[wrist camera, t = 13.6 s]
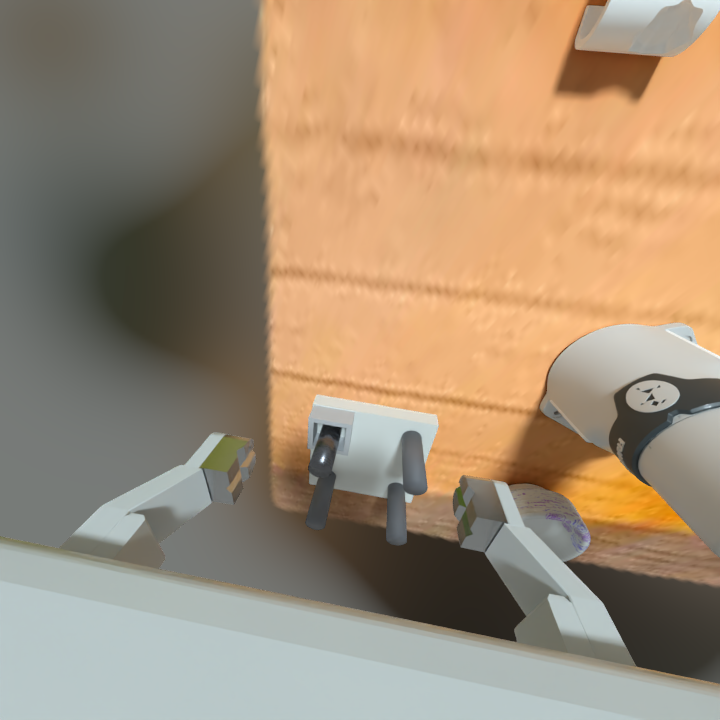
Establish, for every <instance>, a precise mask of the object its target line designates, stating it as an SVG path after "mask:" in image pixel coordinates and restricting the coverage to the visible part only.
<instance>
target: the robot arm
mask: <svg viewBox="0 0 720 720" xmlns="http://www.w3.org/2000/svg"><path fill="white" fill-rule="evenodd" d="M540 410H541V411H542V412H543V413H544V414H545V415H546V416H548V417H550V418H551V419H553V420H555V421H556V422H558V423H560V424H562V425H563V426H565V427H567V428H569V429H570V430H572V431H574V432H576V433H577V434H579V435H580V436H581V437H582V438H583V439H584V440H585V441H586V442H588V443H593V444H595V445H596V446H598V447H600V448H602V449H604V450H606V451H608V452H610V453H612V454H614V455H616V456H617V457H618V458H619V460H620V462H621V463H622V464H623V465H624V466H625V467H626V468H627V469H628V470H629V471H630V472H631V473H632V474H634V475H635V476H636V477H637V478H638V479H639V480H640V481H642V482H643V483H645V484H646V485H648V486H651V487H652V488H653V489H654V490H655V491H656V492H657V493H658V494H659V495H660V496H661V497H662V498H663V499H664V500H665V501H666V502H667V504H668V505H669V506H670V507H671V508H672V509H673V510H674V511H675V512H676V513H677V514H678V515H679V516H680V517H681V519H682V520H683V521H684V522H685V523H686V524H687V525H688V526H689V527H690V528H691V529H692V530H693V531H694V532H695V533H696V535H697V536H698V537H699V538H700V539H701V540H702V541H703V542H704V543H705V544H706V545H707V546H708V547H709V548H710V549H711V551H712V552H713V553H714V554H716V555H717V556H718V557H719V558H720V356H718V355H716V354H714V353H712V352H710V351H708V350H706V349H705V348H703V347H701V346H699V345H697V342H696V339H695V335H694V332H693V329H692V328H691V327H689V326H687V325H686V324H684V323H670V324H665V325H660V326H645V325H638V324H621V325H614V326H609V327H605V328H602V329H599V330H596V331H594V332H592V333H589V334H587V335H585V336H583V337H582V338H580V339H578V340H577V341H575V342H574V343H573V344H571V345H570V346H569V347H568V348H567V349H565V350H564V351H563V352H562V353H561V355H560V356H559V357H558V358H557V359H556V361H555V362H554V364H553V366H552V368H551V370H550V372H549V375H548V381H547V393H546V395H545V397H544V398H543V400H542V402H541V404H540ZM555 411H556V412H555ZM253 447H254V443H253V440H252V439H248V438H243V437H238V436H233V435H228V434H223V433H217V432H214V433H213V434H211V435H210V436H209V437H208V438H207V439H206V441H205V442H204V443H203V444H202V445H201V447H200V448H199V449H198V450H197V451H196V452H195V453H194V455H193V456H192V457H191V458H190V460H189V461H188V462H187V463H186V464H185V465H179V466H178V467H175V468H173V469H172V470H170V471H168V472H166V473H164V474H162V475H160V476H158V477H156V478H154V479H153V480H150V481H148V482H147V483H145V484H143V485H141V486H139V487H137V488H135V489H133V490H131V491H129V492H127V493H125V494H123V495H121V496H119V497H118V498H116V499H114V500H112V501H110V502H108V503H106V504H104V505H102V506H101V507H100V508H99V509H98V510H97V511H96V512H95V513H94V514H93V515H92V516H91V517H90V518H89V519H88V520H87V521H86V522H85V523H84V524H83V525H82V526H81V527H80V528H79V529H78V530H77V531H76V532H75V533H74V534H73V535H72V536H71V537H69V538H68V539H67V541H66V542H64V543H63V544H62V545H61V546H60V547H59V548H55V547H50V546H45V545H41V544H36V543H31V542H26V541H21V540H16V539H11V538H6V537H1V536H0V720H720V684H717V683H712V682H706V681H702V680H697V679H692V678H687V677H682V676H678V675H673V674H668V673H663V672H658V671H653V670H649V669H644V668H639V667H636V665H635V663H634V662H633V660H632V658H631V656H630V654H629V652H628V650H627V648H626V646H625V644H624V643H623V641H622V639H621V637H620V635H619V633H618V631H617V629H616V627H615V626H614V624H613V622H612V620H611V618H610V616H609V614H608V612H607V610H606V608H605V606H604V605H603V603H602V602H601V601H600V600H599V599H598V598H597V597H596V596H595V595H594V594H593V593H592V591H591V590H590V589H589V588H588V587H587V586H586V585H585V584H584V583H583V582H582V581H581V580H580V579H579V578H578V577H577V576H576V575H575V574H574V573H573V572H572V571H571V570H570V569H569V568H568V567H567V566H566V565H565V564H564V563H563V562H562V561H561V560H560V559H559V558H558V557H557V556H556V555H555V554H554V552H553V551H552V550H551V549H550V548H549V547H548V546H547V545H546V544H545V543H544V542H543V541H542V540H541V539H540V538H539V537H538V536H537V535H536V534H535V533H534V532H533V531H532V530H531V529H530V528H528V527H525V526H524V523H523V521H522V518H521V516H520V513H519V511H518V509H517V506H516V504H515V501H514V499H513V497H512V494H511V492H510V489H509V487H508V485H507V484H506V483H505V482H502V481H496V480H490V479H485V478H479V477H473V476H466V475H463V476H462V477H461V478H460V481H459V483H460V487H458V488H456V490H455V492H454V495H453V510H454V515H455V517H456V518H457V519H458V520H459V524H458V526H457V532H458V537H459V542H460V547H462V548H467V549H471V550H476V551H481V552H485V555H486V556H487V558H488V559H489V561H490V562H491V564H492V565H493V567H494V568H495V570H496V571H497V573H498V574H499V576H500V578H501V579H502V581H503V582H504V584H505V585H506V587H507V588H508V589H509V591H510V592H511V594H512V595H513V597H514V598H515V600H516V602H517V603H518V605H519V606H520V608H521V609H522V611H523V612H524V613H525V615H526V617H525V619H523V620H522V621H521V622H520V623H519V624H518V625H517V626H516V628H515V630H514V631H515V635H516V639H517V642H513V641H508V640H502V639H498V638H492V637H488V636H483V635H479V634H473V633H468V632H464V631H459V630H454V629H449V628H444V627H440V626H435V625H430V624H425V623H420V622H415V621H410V620H405V619H401V618H396V617H391V616H386V615H381V614H377V613H372V612H367V611H362V610H357V609H352V608H347V607H342V606H338V605H333V604H327V603H323V602H318V601H313V600H309V599H304V598H299V597H294V596H289V595H284V594H279V593H275V592H269V591H265V590H260V589H255V588H249V587H245V586H240V585H236V584H230V583H226V582H221V581H216V580H211V579H206V578H201V577H196V576H192V575H187V574H182V573H177V572H172V571H167V570H162V569H159V568H160V566H161V565H162V563H163V561H164V560H165V555H164V553H163V551H162V549H161V547H160V545H159V543H160V542H161V541H163V540H164V539H166V538H167V537H168V536H169V535H171V534H172V533H173V532H175V531H176V530H177V529H178V528H180V527H181V526H182V525H184V524H185V523H186V522H187V521H189V520H190V519H191V518H193V517H194V516H195V515H196V514H198V513H199V512H200V511H202V510H203V509H204V508H205V507H207V506H208V505H209V504H211V502H212V501H214V502H221V503H226V504H233V505H234V504H235V502H236V500H237V499H238V497H239V495H240V493H241V492H242V490H243V484H242V482H244V481H245V480H247V479H248V478H249V477H250V475H251V473H252V472H253V469H254V466H255V461H256V456H255V453H254V452H253V451H252V448H253Z"/></svg>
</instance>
